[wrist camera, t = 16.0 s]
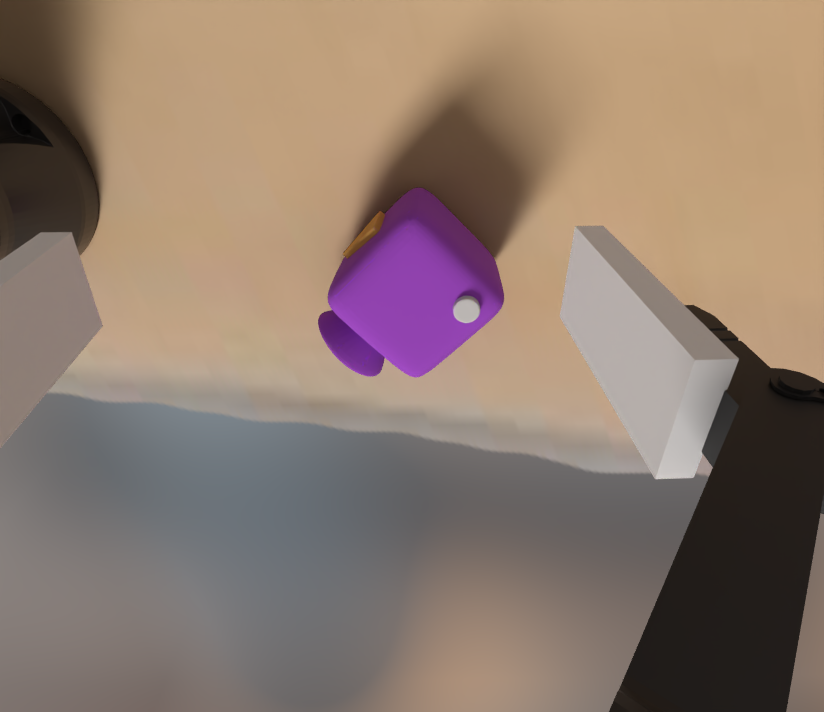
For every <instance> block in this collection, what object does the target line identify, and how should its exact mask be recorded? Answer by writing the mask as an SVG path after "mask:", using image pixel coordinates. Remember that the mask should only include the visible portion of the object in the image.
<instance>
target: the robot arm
mask: <svg viewBox="0 0 824 712" xmlns="http://www.w3.org/2000/svg"><path fill="white" fill-rule="evenodd" d="M97 219H98V195H97V189H96V184H95V180H94V177H93V174H92V171H91V168H90V166H89V163H88V161H87V159H86V157H85V155H84V153H83V151H82V149H81V148H80V146H79V144H78V143H77V141H76V140H75V138H74V137H73V135H72V134H71V133H70V131H69V130H68V129H67V127H66V126H65V125H64V124H63V123H62V122H61V120H60V119H59V118H58V117H57V116H56V115H55V114H54V113H53V112H52V111H51V110H50V109H49V108H47V107H46V106H45V105H44V104H43V103H41V102H40V101H39V100H38V99H36V98H35V97H34V96H32V95H31V94H29V93H28V92H26V91H24V90H23V89H21V88H19V87H18V86H16V85H14V84H12V83H10V82H7V81H5V80H3V79H0V448H1V447H2V446H3V444H4V443H5V442H6V441H7V439H9V437H10V436H11V435H12V434H13V433H14V431H15V430H16V429H17V428H18V427H19V425H20V424H21V423H22V422H23V421H24V419H25V418H26V417H27V416H28V415H29V413H30V412H31V411H32V410H33V409H34V408H35V406H36V405H37V404H38V403H39V402H40V400H41V399H42V398H43V397H44V396H45V394H46V393H47V392H48V391H49V390H50V388H51V387H52V386H53V385H54V384H55V382H56V381H57V380H58V379H59V378H60V376H61V375H62V374H63V373H64V372H65V371H66V369H67V368H68V367H69V366H70V365H71V363H72V362H73V361H74V360H75V359H76V357H77V356H78V355H79V354H80V353H81V351H82V350H83V349H84V348H85V347H86V345H87V344H88V343H89V342H90V341H91V339H92V338H93V337H94V336H95V335H96V334H97V332H98V331H99V330H100V329H101V328H102V326H103V325H102V322H101V319H100V316H99V313H98V310H97V307H96V304H95V301H94V298H93V295H92V292H91V289H90V286H89V283H88V280H87V277H86V274H85V271H84V268H83V265H82V262H81V259H80V255H81V254H82V253H83V252H84V250H85V249H86V248H87V246H88V245H89V243H90V241H91V239H92V237H93V235H94V232H95V229H96V225H97ZM560 318H561V320H562V321H563V323H564V325H565V326H566V328H567V330H568V332H569V333H570V335H571V337H572V338H573V340H574V342H575V343H576V345H577V347H578V349H579V350H580V352H581V354H582V355H583V357H584V359H585V360H586V362H587V364H588V366H589V367H590V369H591V371H592V372H593V374H594V376H595V377H596V379H597V381H598V383H599V384H600V386H601V388H602V389H603V391H604V393H605V394H606V396H607V398H608V400H609V401H610V403H611V405H612V406H613V408H614V410H615V411H616V413H617V415H618V417H619V418H620V420H621V422H622V423H623V425H624V427H625V428H626V430H627V432H628V434H629V435H630V437H631V439H632V440H633V442H634V444H635V445H636V447H637V449H638V451H639V452H640V454H641V456H642V457H643V459H644V461H645V462H646V464H647V466H648V468H649V469H650V471H651V473H652V474H653V476H654V478H655V479H669V478H694V475H695V473H696V470H697V467H698V465H699V462H700V460H701V457H702V454H704V456H705V457H706V458H707V460H708V461H709V463H710V464H711V465H712V467H713V469H712V471H711V474H710V476H709V478H708V481H707V483H706V486H705V488H704V490H703V493H702V495H701V497H700V500H699V502H698V505H697V507H696V509H695V512H694V514H693V516H692V519H691V521H690V524H689V526H688V528H687V531H686V533H685V535H684V538H683V540H682V542H681V545H680V547H679V549H678V552H677V554H676V556H675V559H674V561H673V564H672V566H671V568H670V571H669V573H668V575H667V578H666V580H665V583H664V585H663V587H662V590H661V592H660V594H659V597H658V599H657V601H656V604H655V606H654V609H653V611H652V613H651V616H650V618H649V620H648V623H647V625H646V627H645V630H644V632H643V635H642V637H641V640H640V642H639V644H638V646H637V649H636V651H635V653H634V656H633V658H632V661H631V663H630V665H629V668H628V670H627V672H626V675H625V677H624V679H623V682H622V684H621V686H620V689H619V691H618V692H617V695H616V697H615V699H614V701H613V704H612V706H611V708H610V711H609V712H786V709H787V704H788V697H789V692H790V686H791V680H792V675H793V669H794V663H795V657H796V651H797V646H798V640H799V634H800V628H801V622H802V617H803V611H804V605H805V599H806V594H807V588H808V582H809V576H810V570H811V564H812V559H813V553H814V547H815V541H816V535H817V530H818V524H819V518H820V513H822V514H824V383H822V382H820V381H819V380H817V379H815V378H813V377H810V376H808V375H805V374H803V373H800V372H796V371H791V370H787V369H779V368H770V367H769V366H768V365H767V364H766V363H765V362H763V361H762V360H761V359H760V358H759V357H758V356H757V355H756V354H755V353H754V352H753V351H752V350H750V349H749V348H748V347H747V346H746V345H745V344H744V343H743V342H742V341H738V338H737V337H736V336H735V335H734V334H733V333H732V332H731V331H727V327H726V326H725V325H723V324H722V323H721V322H720V321H719V320H718V319H717V318H716V317H715V316H713V315H712V314H710V313H708V312H706V311H704V310H702V309H700V308H698V307H696V306H694V305H683V304H682V303H681V302H680V301H679V300H678V299H677V298H676V297H675V296H674V295H673V294H672V293H671V292H670V291H669V290H668V289H667V288H666V287H665V286H664V285H663V284H662V283H661V282H660V281H659V280H658V279H657V278H656V277H655V276H654V275H653V274H652V273H651V272H650V271H649V270H648V269H647V268H646V267H645V266H644V265H643V264H642V263H641V262H640V261H639V260H638V259H637V258H636V257H634V256H633V255H632V254H631V253H630V252H629V251H628V250H627V249H626V248H625V247H624V246H623V245H622V244H621V243H620V242H619V241H618V240H617V239H616V238H615V237H614V236H613V235H612V234H611V233H610V232H609V231H608V230H607V229H606V228H605V227H604V226H575V230H574V236H573V242H572V248H571V254H570V260H569V265H568V271H567V277H566V283H565V289H564V295H563V301H562V307H561V312H560Z"/></svg>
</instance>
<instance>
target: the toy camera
mask: <svg viewBox="0 0 824 712" xmlns="http://www.w3.org/2000/svg"><path fill="white" fill-rule="evenodd" d="M343 255H344V256H345V258H344V259H343V261H342V263H341V265H340V267H339V269H338V271H337V273H336V275H335V277H334V279H333V281H332V284H331V286H330V289H329V292H328V303H329V305H330V307H331V309H332V310H331V311H327V312H324V313H322V314H321V315H320V317H319V319H318V325H319V330H320V332H321V335H322V337H323V339H324V341H325V343H326V344H327V346H328V347H329V349H330V350H331V351H332V353H333V354H334V355H335V356H336V357H337V358H338V359H339V360H340V361H341V362H342V363H343V364H344V365H346V366H347V367H348V368H350V369H351V370H353V371H355V372H357V373H359V374H361V375H365V376H376V375H377V374H379V373H380V371H381V370H382V366H383V363H384V358H386V359H387V360H389V361H390V362H391V363H392V364H393V365H395V366H396V367H397V368H398V369H400V370H401V371H403V372H404V373H406V374H407V375H409V376H412V377H420V376H422V375H424V374H426V373H427V372H429V371H430V370H432V369H433V368H434V367H436V366H437V365H438V364H439V363H440V362H442V361H443V360H444V359H445V358H446V357H448V356H449V355H450V354H451V353H452V352H453V351H455V350H456V349H457V348H458V347H459V346H461V345H462V344H463V343H464V342H465V341H466V340H468V339H469V338H470V337H471V336H472V335H474V334H475V333H476V332H477V331H478V330H479V329H481V328H482V327H483V326H484V325H485V324H486V323H487V322H489V321H490V320H491V319H492V318H493V317H494V316H495V315H496V314H497V313H498V311H499V310H500V309H501V307H502V305H503V302H504V293H503V287H502V283H501V279H500V276H499V272H498V268H497V265H496V262H495V260H494V258H493V256H492V255H491V254H490V252H489V251H488V250H487V249H486V248H485V247H484V246H483V244H482V243H481V242H480V241H479V240H478V239H477V238H476V237H475V236H474V235H473V234H472V233H471V232H470V231H469V230H468V229H467V228H466V227H465V226H464V225H463V224H462V223H461V222H460V221H459V220H458V219H457V218H456V217H455V216H454V215H453V214H452V213H451V212H450V211H449V210H448V209H447V208H446V207H445V206H444V205H443V204H442V203H441V202H440V201H439V200H438V199H437V198H436V197H435V196H434V195H433V194H432V193H430V192H429V191H427V190H425V189H423V188H414V189H412V190H410V191H408V192H407V193H405V194H404V195H403V196H402V197H401V198H400V199H399V200H398V201H397V202H396V203H395V204H394V205H393V206H392V207H391V208H390V209H389V210H388V211H387V212H386V213H385V214H384V213H382V212H381V211H379V212H378V213H377V214H376V216H375V217H374V218H373V219H372V220H371V221H370V222H369V224H368V225H367V226H366V227H365V228H364V229H363V231H362V232H361V233H360V234H359V235H358V236H357V238H356V239H355V240H354V241H353V242H352V243H351V244H350V246H349V247H348V248H347V249H346V250H345V251H344V253H343Z"/></svg>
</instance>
